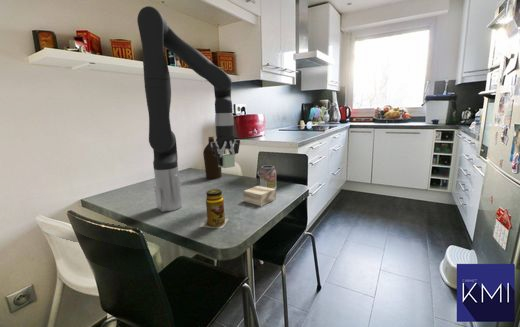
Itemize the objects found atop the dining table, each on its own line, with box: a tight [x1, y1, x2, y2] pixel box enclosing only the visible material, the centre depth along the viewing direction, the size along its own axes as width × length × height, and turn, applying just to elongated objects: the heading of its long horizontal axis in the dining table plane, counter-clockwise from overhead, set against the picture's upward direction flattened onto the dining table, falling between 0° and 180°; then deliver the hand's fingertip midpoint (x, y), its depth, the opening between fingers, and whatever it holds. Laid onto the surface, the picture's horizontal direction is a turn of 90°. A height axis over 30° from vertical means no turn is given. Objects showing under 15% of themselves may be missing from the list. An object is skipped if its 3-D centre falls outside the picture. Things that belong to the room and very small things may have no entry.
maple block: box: [243, 184, 277, 207], centre depth 109 cm, size 10×10×5 cm
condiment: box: [198, 188, 229, 229], centre depth 87 cm, size 7×8×12 cm
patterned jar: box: [256, 164, 277, 190], centre depth 122 cm, size 9×8×12 cm
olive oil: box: [202, 136, 222, 180], centre depth 151 cm, size 11×11×25 cm
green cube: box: [218, 153, 236, 169], centre depth 105 cm, size 5×5×5 cm
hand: (226, 164), depth 105 cm, fingers closed on green cube, 5 cm apart
